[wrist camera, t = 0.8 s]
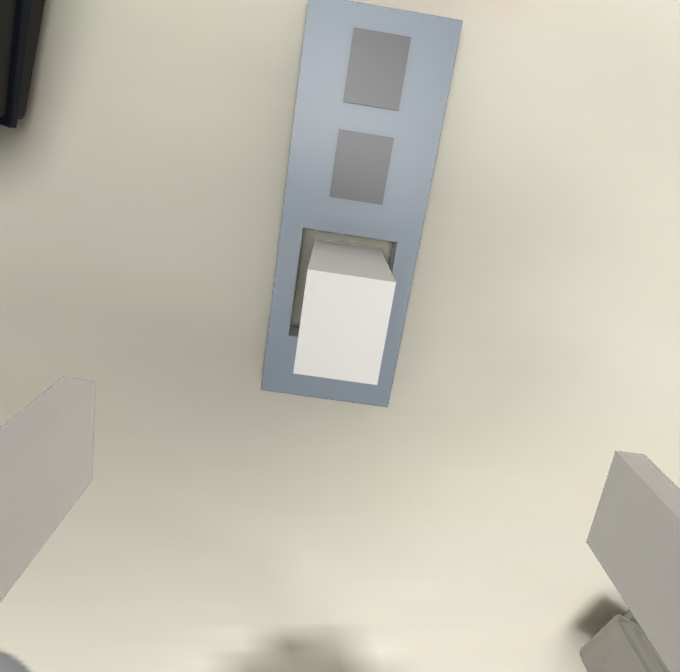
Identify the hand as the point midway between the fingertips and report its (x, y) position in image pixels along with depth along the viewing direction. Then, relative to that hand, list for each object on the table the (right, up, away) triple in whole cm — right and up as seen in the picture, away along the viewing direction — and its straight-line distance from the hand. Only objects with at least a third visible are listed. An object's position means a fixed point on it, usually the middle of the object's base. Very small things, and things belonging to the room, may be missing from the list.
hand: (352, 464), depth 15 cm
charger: (0, +7, +22) cm, 23 cm away
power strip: (0, +10, +20) cm, 23 cm away
